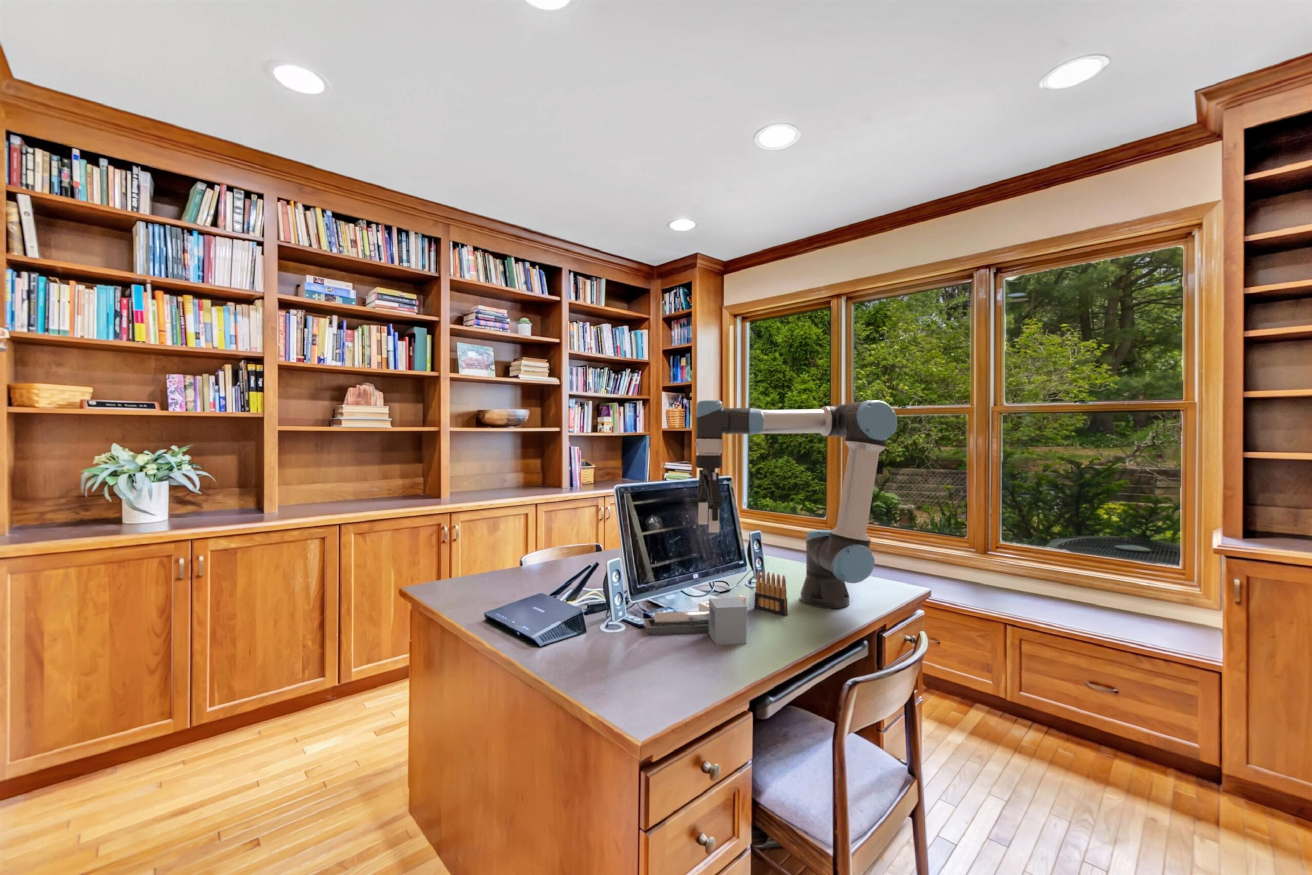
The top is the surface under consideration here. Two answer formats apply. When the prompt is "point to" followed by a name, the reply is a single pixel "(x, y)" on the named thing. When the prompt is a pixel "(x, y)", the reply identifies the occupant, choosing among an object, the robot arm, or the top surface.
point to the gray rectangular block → (727, 621)
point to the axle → (681, 618)
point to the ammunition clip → (771, 595)
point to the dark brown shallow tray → (673, 628)
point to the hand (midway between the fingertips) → (708, 528)
